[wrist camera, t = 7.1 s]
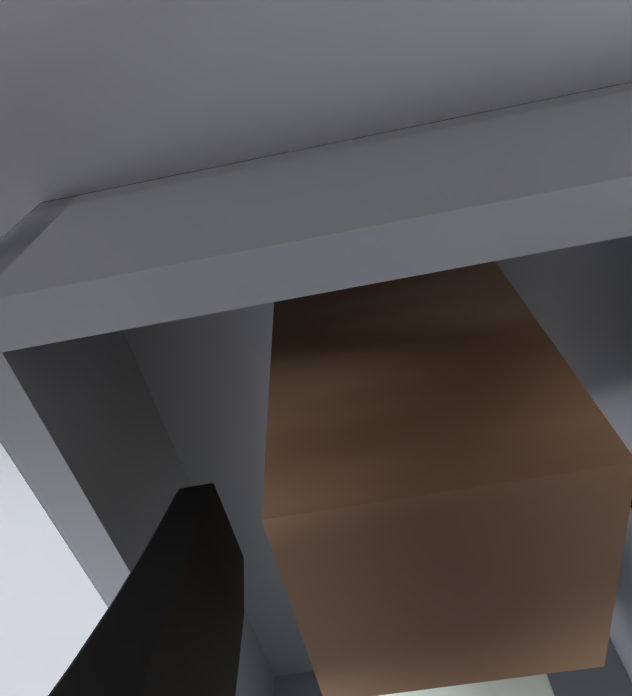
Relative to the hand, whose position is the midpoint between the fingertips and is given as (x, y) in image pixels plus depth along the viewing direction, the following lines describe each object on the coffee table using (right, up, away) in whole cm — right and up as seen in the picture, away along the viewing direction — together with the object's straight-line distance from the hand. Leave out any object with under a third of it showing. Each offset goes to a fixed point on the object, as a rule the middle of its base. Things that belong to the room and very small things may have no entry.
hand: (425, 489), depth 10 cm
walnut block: (0, +2, +3) cm, 4 cm away
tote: (+1, -1, +6) cm, 6 cm away
